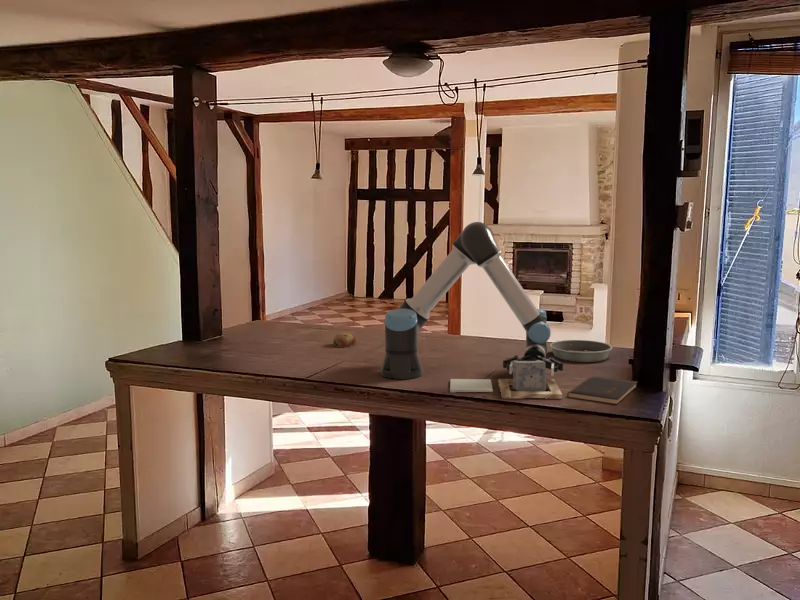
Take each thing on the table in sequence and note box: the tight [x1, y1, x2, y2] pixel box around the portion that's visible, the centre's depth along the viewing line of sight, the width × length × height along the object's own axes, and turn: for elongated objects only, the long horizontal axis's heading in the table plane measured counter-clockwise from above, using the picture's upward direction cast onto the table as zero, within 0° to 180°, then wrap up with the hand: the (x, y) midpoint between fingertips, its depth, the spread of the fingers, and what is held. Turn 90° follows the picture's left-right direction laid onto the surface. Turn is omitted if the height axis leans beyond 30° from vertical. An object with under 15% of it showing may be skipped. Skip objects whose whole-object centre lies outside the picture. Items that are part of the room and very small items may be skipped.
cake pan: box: [549, 339, 613, 363], centre depth 268 cm, size 25×25×4 cm
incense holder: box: [512, 360, 547, 392], centre depth 218 cm, size 10×8×10 cm
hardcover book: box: [566, 375, 638, 405], centre depth 217 cm, size 16×23×2 cm
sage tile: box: [449, 378, 494, 393], centre depth 225 cm, size 14×14×1 cm
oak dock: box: [497, 378, 563, 400], centre depth 219 cm, size 19×18×2 cm
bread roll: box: [333, 331, 357, 348], centre depth 295 cm, size 10×10×8 cm
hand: (531, 371), depth 219 cm, fingers open, 13 cm apart
